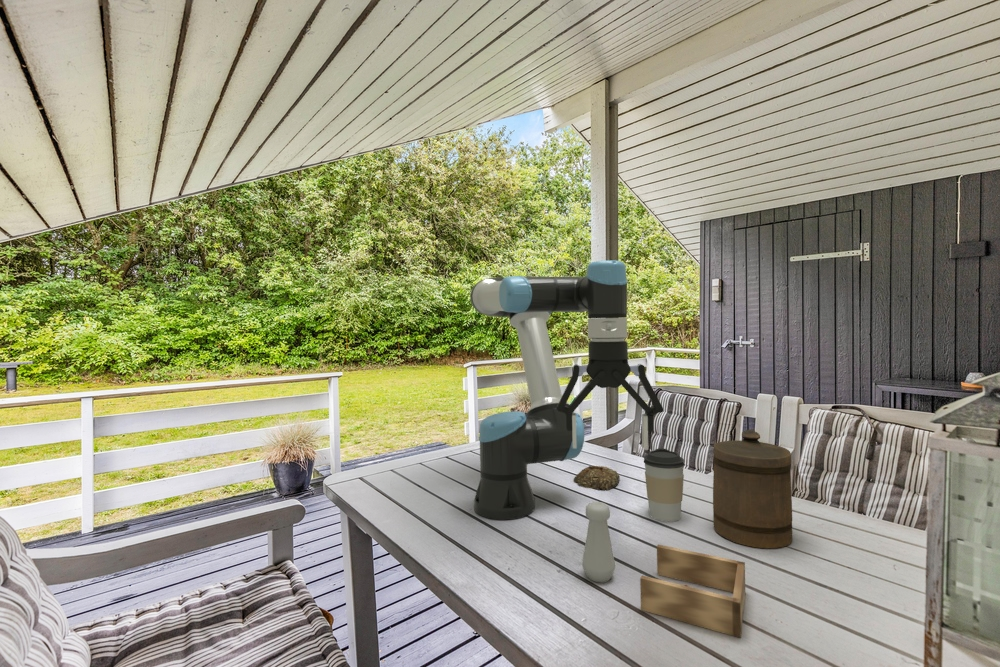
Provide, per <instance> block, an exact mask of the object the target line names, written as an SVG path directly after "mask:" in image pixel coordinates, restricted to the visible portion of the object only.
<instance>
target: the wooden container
mask: <svg viewBox="0 0 1000 667" xmlns="http://www.w3.org/2000/svg"><path fill="white" fill-rule="evenodd" d="M741 437H742V440H738V439H737V440H724V441H719V442H716V443H714V445H713V480H712V482H713V484H712V506H713V507H712V509H713V510H712V511H713V517H712V518H713V519H712V520H713V529H714V531H715V532H716V533H717V534H719V536H721V537H723V538H725V539H727V540H728V541H731V542H733V543H735V544H738V545H739V544H740V545H742V546H745V547H751V548H757V549H781V548H784V547H787V546H789V545H790V544H791V543H792V542H793V499H792V478H791V469H792V453H791V451H790V450H789V449H787V448H786V447H783V446H780V445H776V444H773V443H767V442H763V441H762V442H761V441H759V439H761V435H760V433H759V432H756V430H755V429H746V430H744V431H742V432H741Z"/></svg>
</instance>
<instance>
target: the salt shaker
mask: <svg viewBox="0 0 1000 667" xmlns="http://www.w3.org/2000/svg"><path fill="white" fill-rule="evenodd" d="M585 516H586V518H587V519H588V524H587V526H588V527H587V532H586V539H585V543H584V544H585V545H584V549H583V556H582V559H581V560H582V567H583V569H584V572H585V574H586V576H587V578H589V579H590V580H591V581H593V582H594V583H597V582H598V583H606V582H608V581H610V580H611V579H612V577H613V574H614V571H615V569H616V561H615V558H614V553H613V545H612V541H611V536H610V530H609V525H608V520H609V519H610V517H611V510H610V506H609V505H608V504H606V503H605V502H602V501H601V502H600V501H592V502H589V503H588V504H587V505H585Z"/></svg>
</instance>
